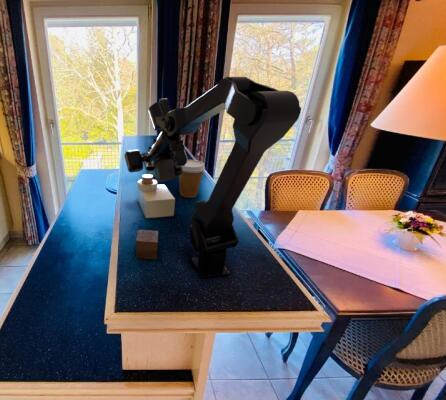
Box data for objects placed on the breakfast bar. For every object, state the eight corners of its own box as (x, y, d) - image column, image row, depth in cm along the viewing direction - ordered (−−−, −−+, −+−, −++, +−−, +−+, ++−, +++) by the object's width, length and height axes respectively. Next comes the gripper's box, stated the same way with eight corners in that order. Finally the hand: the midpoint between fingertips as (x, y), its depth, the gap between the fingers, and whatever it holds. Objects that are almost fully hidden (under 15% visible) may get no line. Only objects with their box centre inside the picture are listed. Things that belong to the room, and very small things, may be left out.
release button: (153, 184, 87) (154, 177, 86) (143, 185, 86) (143, 178, 85) (151, 180, 90) (151, 173, 89) (140, 181, 89) (141, 174, 88)
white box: (173, 215, 83) (175, 192, 80) (143, 218, 82) (144, 195, 78) (162, 198, 95) (163, 177, 92) (135, 200, 94) (135, 179, 90)
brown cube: (156, 259, 64) (157, 242, 62) (136, 257, 64) (136, 240, 62) (157, 247, 68) (158, 230, 66) (137, 245, 69) (138, 229, 67)
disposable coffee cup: (202, 200, 93) (206, 168, 88) (174, 198, 95) (177, 166, 90) (201, 190, 101) (204, 160, 96) (175, 188, 103) (178, 158, 98)
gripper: (141, 175, 67) (127, 197, 81) (204, 167, 72) (180, 189, 86) (130, 138, 70) (118, 165, 84) (191, 132, 76) (170, 159, 90)
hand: (147, 170), depth 86 cm, fingers closed
